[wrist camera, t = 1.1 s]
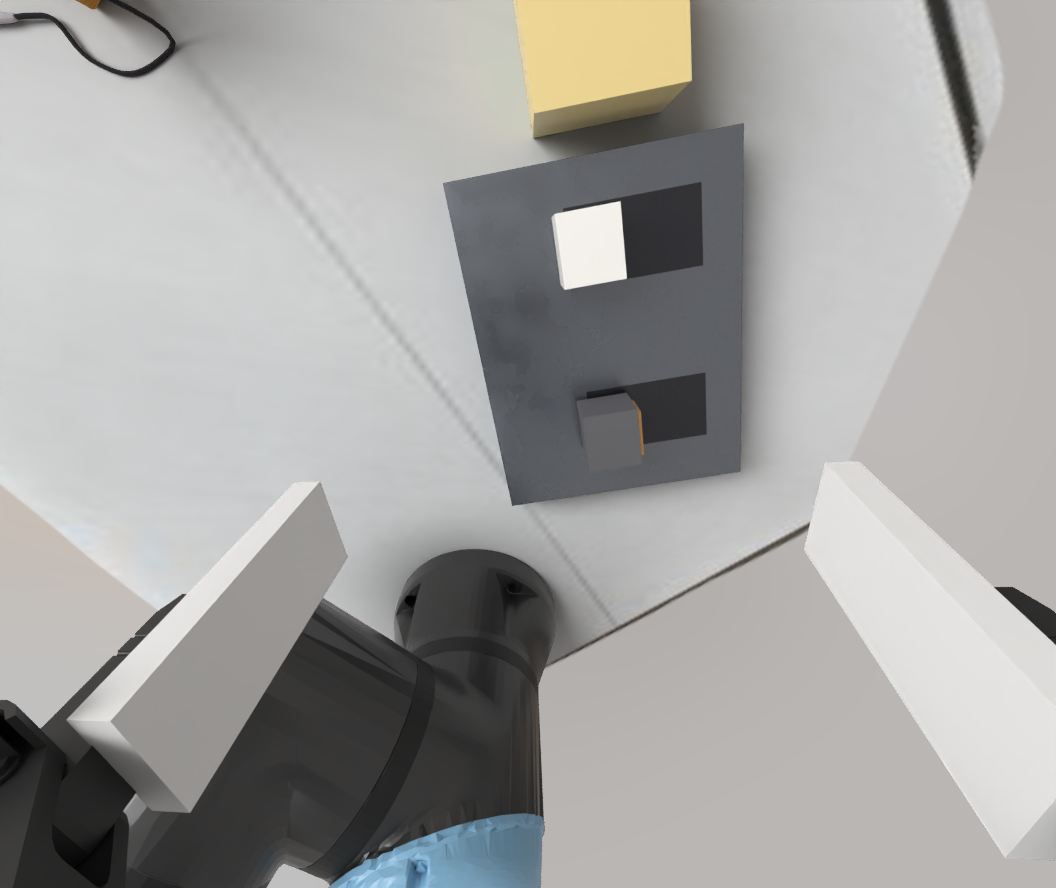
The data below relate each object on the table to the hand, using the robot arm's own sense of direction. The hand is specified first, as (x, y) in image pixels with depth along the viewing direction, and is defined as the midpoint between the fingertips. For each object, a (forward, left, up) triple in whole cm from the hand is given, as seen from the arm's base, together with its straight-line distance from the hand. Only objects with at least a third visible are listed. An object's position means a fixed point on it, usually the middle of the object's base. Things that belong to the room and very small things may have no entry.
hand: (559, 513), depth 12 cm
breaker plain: (+6, -4, -21) cm, 22 cm away
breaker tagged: (-6, -4, -21) cm, 22 cm away
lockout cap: (+17, -6, -24) cm, 30 cm away
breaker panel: (0, -5, -24) cm, 25 cm away
